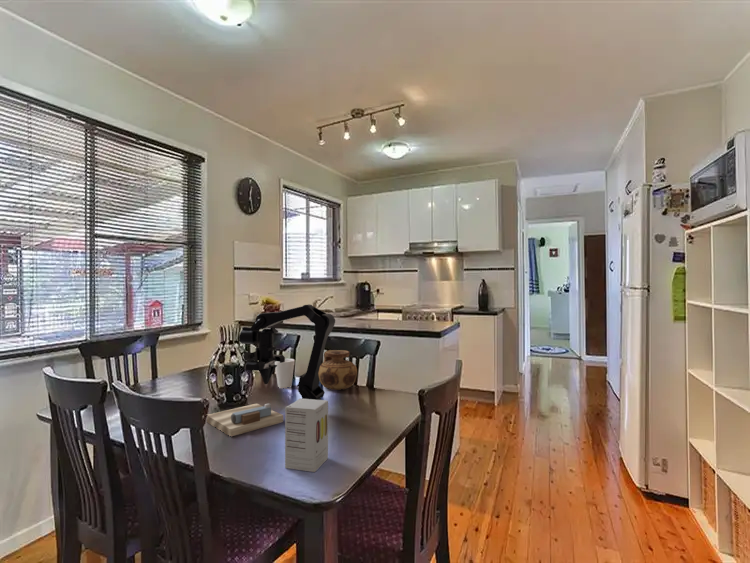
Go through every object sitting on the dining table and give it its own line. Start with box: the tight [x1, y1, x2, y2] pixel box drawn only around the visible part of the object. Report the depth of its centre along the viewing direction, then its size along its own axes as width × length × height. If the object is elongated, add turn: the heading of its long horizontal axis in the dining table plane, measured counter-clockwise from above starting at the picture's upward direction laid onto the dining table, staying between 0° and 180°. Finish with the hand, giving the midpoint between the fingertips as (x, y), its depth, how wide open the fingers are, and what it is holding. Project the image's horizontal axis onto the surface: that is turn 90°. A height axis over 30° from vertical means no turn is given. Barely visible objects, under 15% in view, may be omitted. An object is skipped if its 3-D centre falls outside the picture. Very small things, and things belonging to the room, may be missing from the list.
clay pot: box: [318, 349, 358, 391], centre depth 192 cm, size 19×19×20 cm
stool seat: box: [206, 402, 284, 437], centre depth 146 cm, size 20×20×2 cm
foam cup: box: [274, 357, 295, 389], centre depth 195 cm, size 10×9×13 cm
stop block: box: [241, 411, 260, 425], centre depth 138 cm, size 2×6×3 cm, turn 134°
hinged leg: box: [231, 402, 272, 423], centre depth 141 cm, size 14×3×4 cm, turn 132°
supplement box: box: [284, 397, 329, 473], centre depth 112 cm, size 10×9×17 cm
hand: (266, 383), depth 157 cm, fingers closed
